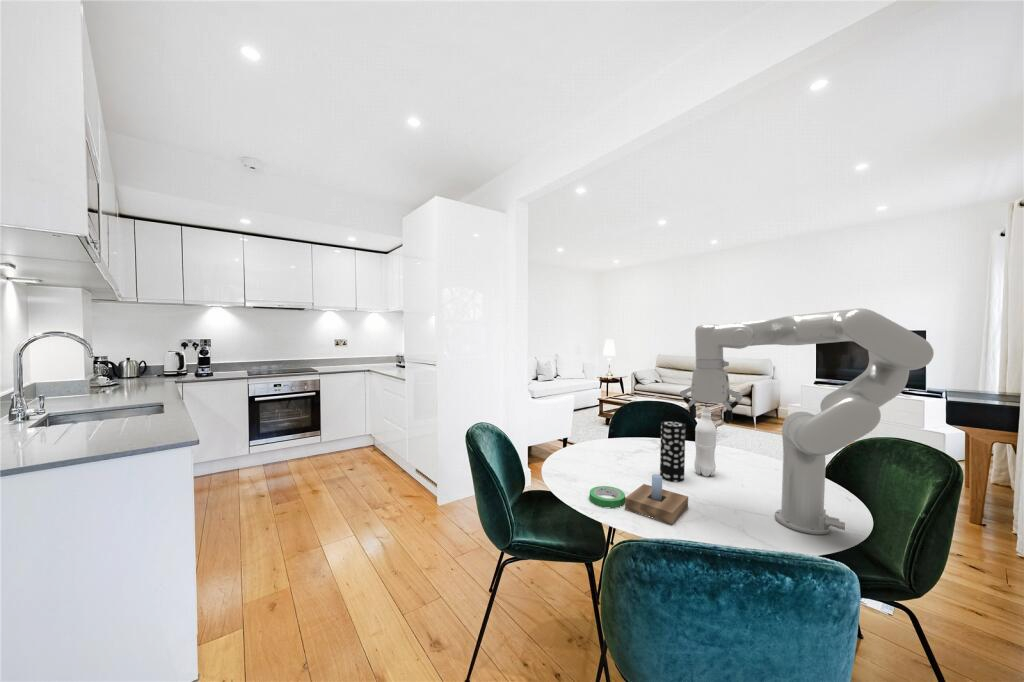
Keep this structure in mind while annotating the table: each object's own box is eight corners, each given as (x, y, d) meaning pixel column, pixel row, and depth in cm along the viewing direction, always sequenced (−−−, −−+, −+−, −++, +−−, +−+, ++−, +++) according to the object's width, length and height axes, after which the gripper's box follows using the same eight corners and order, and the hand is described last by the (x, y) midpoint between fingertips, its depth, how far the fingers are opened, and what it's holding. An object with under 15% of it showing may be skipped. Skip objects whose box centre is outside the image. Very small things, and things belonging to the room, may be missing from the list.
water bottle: (719, 477, 141) (720, 410, 140) (699, 477, 141) (701, 410, 140) (709, 470, 148) (711, 406, 147) (690, 470, 148) (692, 406, 147)
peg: (663, 508, 117) (663, 476, 116) (659, 511, 114) (660, 479, 114) (653, 505, 119) (654, 473, 118) (649, 508, 116) (650, 476, 116)
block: (688, 507, 117) (688, 496, 117) (672, 525, 107) (672, 512, 106) (643, 494, 126) (643, 483, 126) (624, 509, 116) (625, 497, 116)
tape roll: (584, 502, 121) (584, 494, 121) (597, 490, 130) (597, 482, 130) (618, 512, 114) (618, 504, 114) (629, 499, 123) (629, 491, 123)
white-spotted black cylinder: (679, 473, 144) (680, 421, 144) (687, 482, 136) (688, 427, 135) (657, 472, 145) (658, 420, 144) (663, 481, 137) (664, 426, 136)
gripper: (744, 365, 114) (745, 421, 114) (683, 363, 125) (684, 415, 125) (739, 367, 108) (740, 427, 108) (676, 365, 119) (677, 419, 120)
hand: (710, 420), depth 117 cm, fingers open, 9 cm apart
